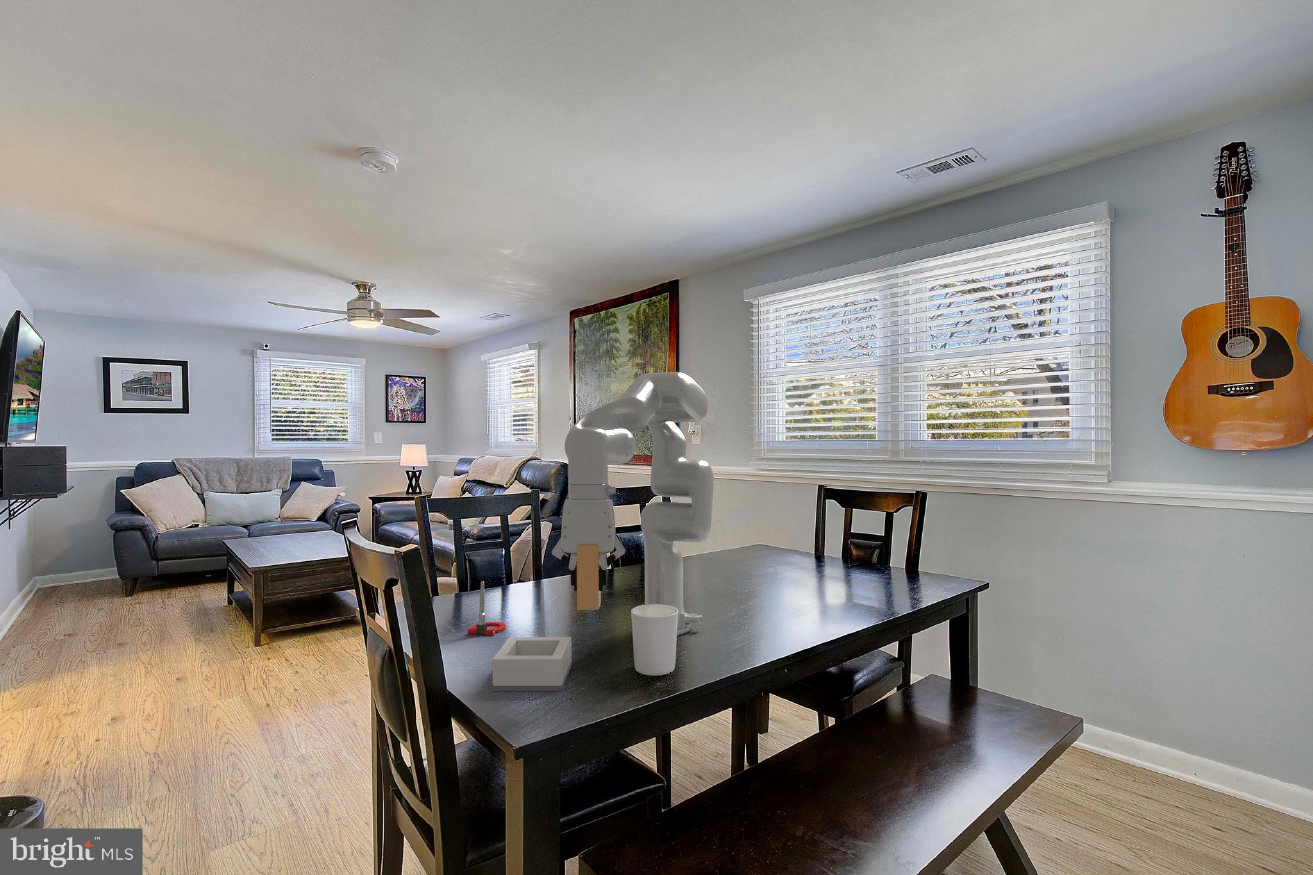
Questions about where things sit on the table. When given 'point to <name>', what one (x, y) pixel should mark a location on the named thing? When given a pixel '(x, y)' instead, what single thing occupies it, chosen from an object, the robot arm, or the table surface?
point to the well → (532, 664)
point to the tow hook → (482, 625)
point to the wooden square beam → (588, 577)
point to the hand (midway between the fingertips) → (588, 588)
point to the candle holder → (654, 638)
